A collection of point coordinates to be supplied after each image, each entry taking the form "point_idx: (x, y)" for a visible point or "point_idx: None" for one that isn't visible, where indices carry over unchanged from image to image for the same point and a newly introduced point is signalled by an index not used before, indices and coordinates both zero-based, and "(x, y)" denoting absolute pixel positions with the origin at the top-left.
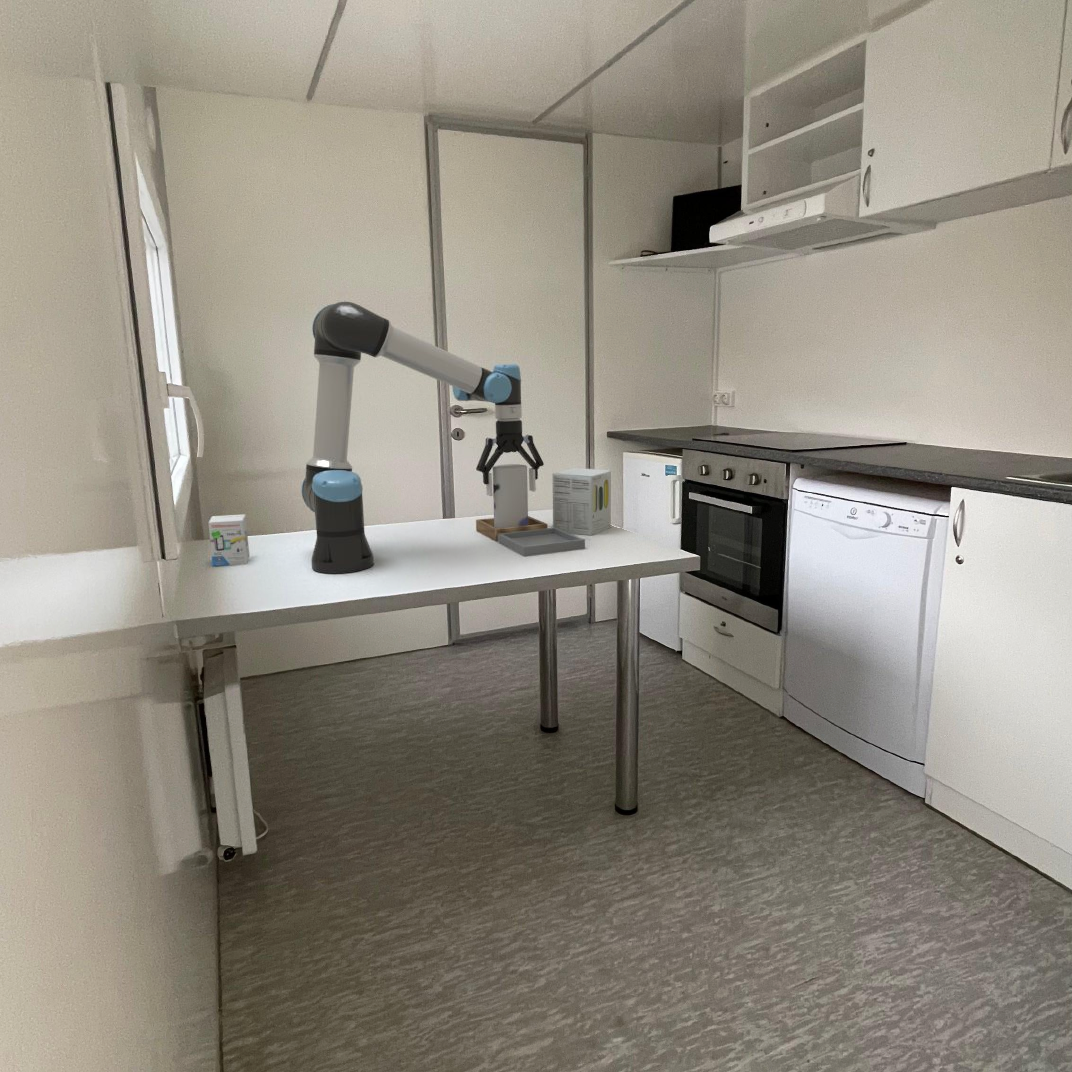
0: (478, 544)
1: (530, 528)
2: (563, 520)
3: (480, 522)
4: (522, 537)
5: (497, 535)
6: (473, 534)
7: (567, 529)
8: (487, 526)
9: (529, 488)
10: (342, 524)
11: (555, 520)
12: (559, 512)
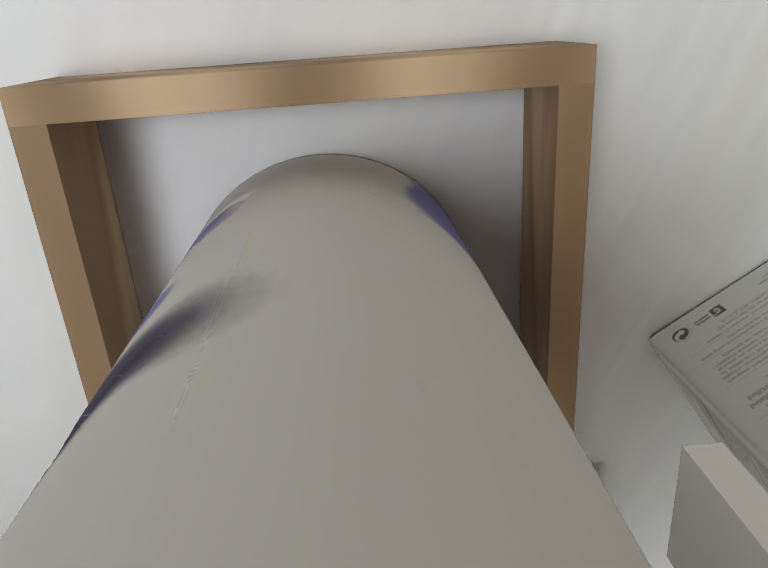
0: (22, 504)
1: None
2: (736, 456)
3: (39, 222)
4: None
5: None
6: (13, 196)
7: (714, 434)
8: (88, 389)
9: (696, 467)
10: None
11: (700, 402)
12: (761, 475)
